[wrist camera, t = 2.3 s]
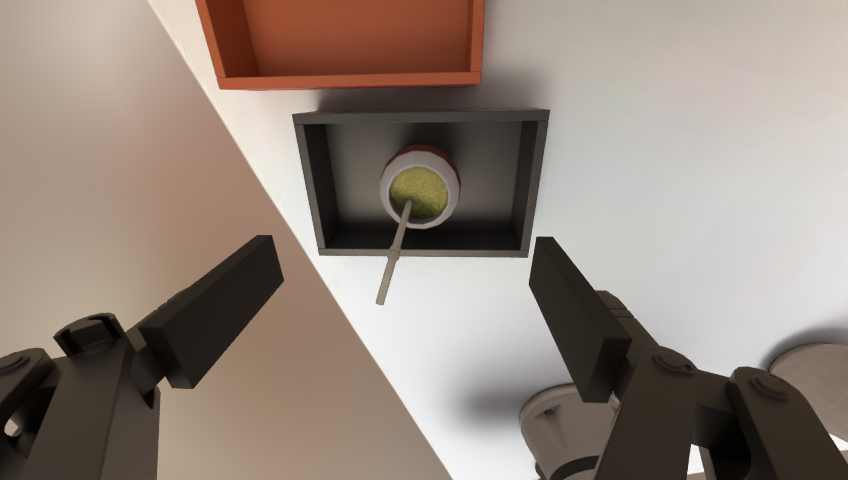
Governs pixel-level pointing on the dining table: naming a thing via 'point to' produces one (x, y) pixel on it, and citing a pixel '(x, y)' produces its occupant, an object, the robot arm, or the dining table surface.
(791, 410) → the robot arm
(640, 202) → the dining table surface
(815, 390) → the coffee pot
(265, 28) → the terracotta tote
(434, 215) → the mate gourd
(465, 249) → the charcoal tote
